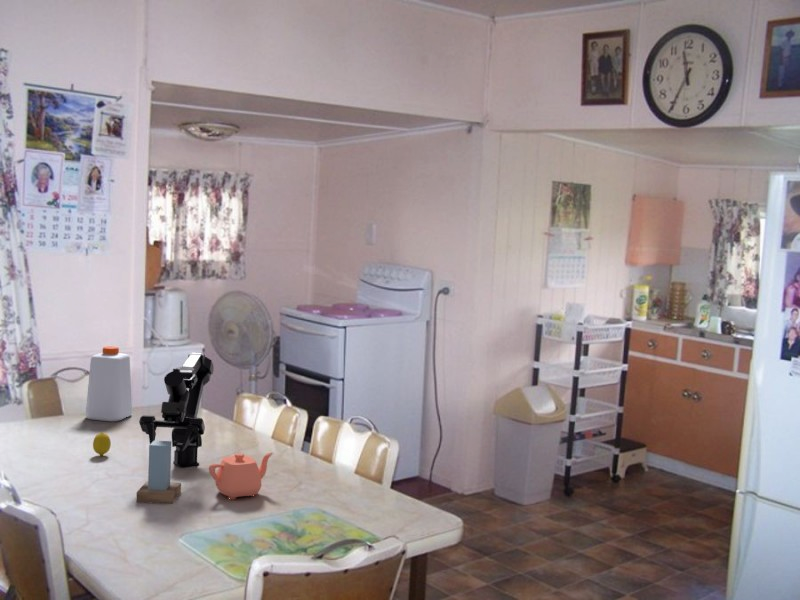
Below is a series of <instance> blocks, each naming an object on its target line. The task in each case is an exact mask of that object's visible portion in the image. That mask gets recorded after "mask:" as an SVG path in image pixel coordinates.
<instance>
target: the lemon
mask: <svg viewBox="0 0 800 600" xmlns="http://www.w3.org/2000/svg"><path fill="white" fill-rule="evenodd" d="M111 444H112V443H111V438H110V436H109V435H108V434H106V433H104V432H100V433H98V434H96V435H95V437H94V438H93V442H92V447H93V450H94V452H95V453H96V454H98V455H99V456H100V457H102V456H104V455H105V454H107V453H108V452H109V451H110V449H111Z"/></svg>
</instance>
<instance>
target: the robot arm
mask: <svg viewBox="0 0 800 600" xmlns="http://www.w3.org/2000/svg"><path fill="white" fill-rule="evenodd" d="M213 373H214V363H213V361H212V359H210V358H208V357H207V356H206V355H205V353H202V352H189V353H188V356H187V358H186V360H185V361H184V363H183V364H182V366H179V367H176V368H173V369H172V371H171V372H168V373H167V374H165V376H164V379H163V381H164V385H165V388H166V391H167V394H168V395H169V396H168V401H162V402H161V409H160V410H161V411H160V413H161V418H162V420H160V419H156V417H155V415H147V414H146V415H145V414H142V416H140V418H139V421H138V423H139V426H140V428H141V431H142V432H144V433H145V434H146V435H148V440H149V445H150V444H151V443H152V442H153V441H156V435H157V433H156V430H157V429H158V428H170V429H172V430H171V448H172V447H173V448H175V450H174V455H173V459H174V460H173V464H175V465H176V466H177V467H180V468H186V467H194V466H199V465H200V462H198V451H199V450H198V449H199V448H201V447H202V446H203V439H202V438H203V437H202V436H203V435H204V434H205V431H206V427H205V426H206V425H205V422H204V419H203V418H202V417H198V413H199V408H200V404H201V398H202V395H203V390H204V387H205V386H206V384H208V382H210V381H211V376H212V375H213Z"/></svg>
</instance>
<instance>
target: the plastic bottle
mask: <svg viewBox="0 0 800 600" xmlns="http://www.w3.org/2000/svg"><path fill="white" fill-rule="evenodd" d="M119 350H120V348H119V347H117V346H112V345H111V346H103V348H102V352H100V353H96V354H94V355H92V356H91V357H90V364H89V365H90V366H89V373H88V385H87V393H86V395H87V397H86V406H85V418H86V419H88V420H91V421H101V422H118V421H122V420H124V419H126V417H127V418H128V417H129V418H130V416H132V414H133V401H132V400H133V398H132V382H131V381H132V378H131V377H132V376H131V358H130V355H129V354H128V353H123V352H122V353H120V351H119Z"/></svg>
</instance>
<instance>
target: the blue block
mask: <svg viewBox="0 0 800 600" xmlns="http://www.w3.org/2000/svg"><path fill="white" fill-rule="evenodd" d="M171 465H172V440H171V441H170V440H155V441H153V442H152V443H151V444H150V443H149V445H148V477H147V478H148V479H147V481H148V490H165V491H166V489H167V488H168V487H169V486H170V482H171V470H172V469H171V468H172V466H171Z"/></svg>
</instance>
